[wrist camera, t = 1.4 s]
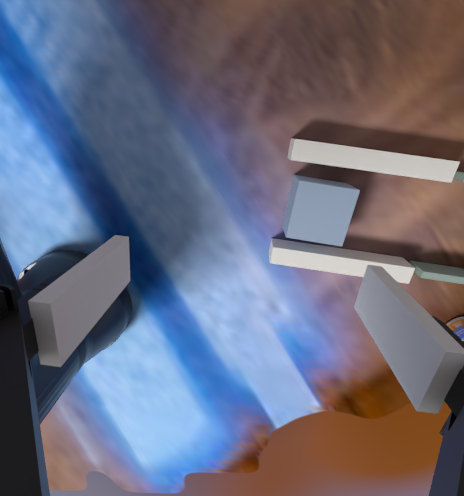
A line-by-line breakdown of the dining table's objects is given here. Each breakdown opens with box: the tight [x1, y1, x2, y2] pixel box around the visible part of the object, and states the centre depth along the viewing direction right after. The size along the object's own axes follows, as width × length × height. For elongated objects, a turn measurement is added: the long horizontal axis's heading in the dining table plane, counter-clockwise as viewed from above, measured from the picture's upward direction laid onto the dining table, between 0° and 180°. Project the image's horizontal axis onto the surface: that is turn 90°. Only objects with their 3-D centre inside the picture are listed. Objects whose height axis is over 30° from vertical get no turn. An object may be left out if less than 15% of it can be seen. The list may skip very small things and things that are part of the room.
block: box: [282, 175, 360, 247], centre depth 31 cm, size 6×6×4 cm
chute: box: [269, 138, 460, 284], centre depth 31 cm, size 16×14×3 cm
